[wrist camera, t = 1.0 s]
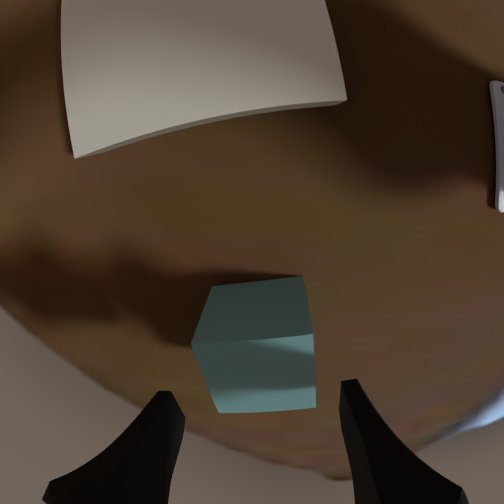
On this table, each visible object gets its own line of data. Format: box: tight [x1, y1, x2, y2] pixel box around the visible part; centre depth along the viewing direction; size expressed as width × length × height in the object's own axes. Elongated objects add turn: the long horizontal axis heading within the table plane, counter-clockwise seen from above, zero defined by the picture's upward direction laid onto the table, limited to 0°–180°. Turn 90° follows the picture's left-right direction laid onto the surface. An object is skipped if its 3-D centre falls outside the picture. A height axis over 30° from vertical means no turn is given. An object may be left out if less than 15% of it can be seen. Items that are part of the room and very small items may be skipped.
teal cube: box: [191, 276, 316, 413], centre depth 14 cm, size 5×5×5 cm
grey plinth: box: [61, 0, 347, 159], centre depth 9 cm, size 12×12×3 cm
